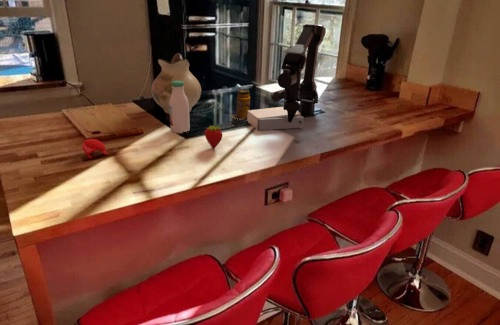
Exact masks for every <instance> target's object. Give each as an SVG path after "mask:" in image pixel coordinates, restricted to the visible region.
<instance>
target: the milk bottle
mask: <svg viewBox="0 0 500 325" xmlns="http://www.w3.org/2000/svg"><path fill="white" fill-rule="evenodd" d="M183 87H184V82H183V81H172V88H173V90H172V94H171V97H170V100H169V112H170V114H169V125H170V131H171V133H173V134H184V133H183V132H186V133H188V132H189V131H190V129H191V126H190V125H191V124H190V112H189V103H188V99H187V97H186V95H185V93H184V90H183ZM187 131H188V132H187Z"/></svg>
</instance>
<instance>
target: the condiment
mask: <svg viewBox="0 0 500 325" xmlns="http://www.w3.org/2000/svg"><path fill="white" fill-rule="evenodd" d="M248 110H251V96H250V90H249V89H239V90H237V96H236V114H230V115H229V117H230V118H233V119H234V120H236V119H237V121H241V120H246V119H245V118H247V114H248ZM238 118H240V119H239V120H238Z"/></svg>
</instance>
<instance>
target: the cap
mask: <svg viewBox="0 0 500 325" xmlns="http://www.w3.org/2000/svg"><path fill="white" fill-rule="evenodd" d="M82 142H83V143H82V146H81V148H82V151H83V152H84V153H85V154H86V156H87V157H88V158H89V159H90V158H91V159H93V156H92V155H91V153H92V154H93V152H94V153H95V152H96V151H98V152H101V153H102V154H104V155H105V156H107V155H108V152H107V150H106V145H105V144H104V143H103V142H102V141H100V140H98V139H95V138H90V139H89V138H88V139H85V140H84V141H82ZM85 154H84V155H85ZM106 154H107V155H106Z"/></svg>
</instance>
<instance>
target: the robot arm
mask: <svg viewBox="0 0 500 325" xmlns="http://www.w3.org/2000/svg"><path fill="white" fill-rule="evenodd" d="M326 31H327V30H326V27H325V26H324V25H323V24H315V23H309V22H306V23H303V26H302V30H301V32H300V34H299V37H298V38H297V41H296V42H295V45H294V46H291V47H290V48H289V49H288V51H287V52H286V54H285V55H284V58H283V61H282V64H281V67H280V70H282V73H280V74H279V75H278V77H277V79H276V80H277V85H278V86H279V87H280V88H282V89H279V90H277V91H273V92H271V93H270V97H271V100H272V101H271V102H272V103H277V102H279V101H281V100H283V107H284V108H283V110H287V114H288V122H292V120H293V118H294V116H295V114H296V112H299V113H301V114H300V116H301V117H305V118H306V117H314V116H317V114H316V113H315V107H316V104H319V94H318V91H317V89H318V86H317V84H316V82H315V76H316V70H317V69H316V68H317V61H318V53H319V47H320V45H321V44H322V43H323V41H324V37H325V35H326V33H327V32H326ZM303 70H304V74H303V80H302V79H301V78H302V72H303ZM301 80H302V81H301Z"/></svg>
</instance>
